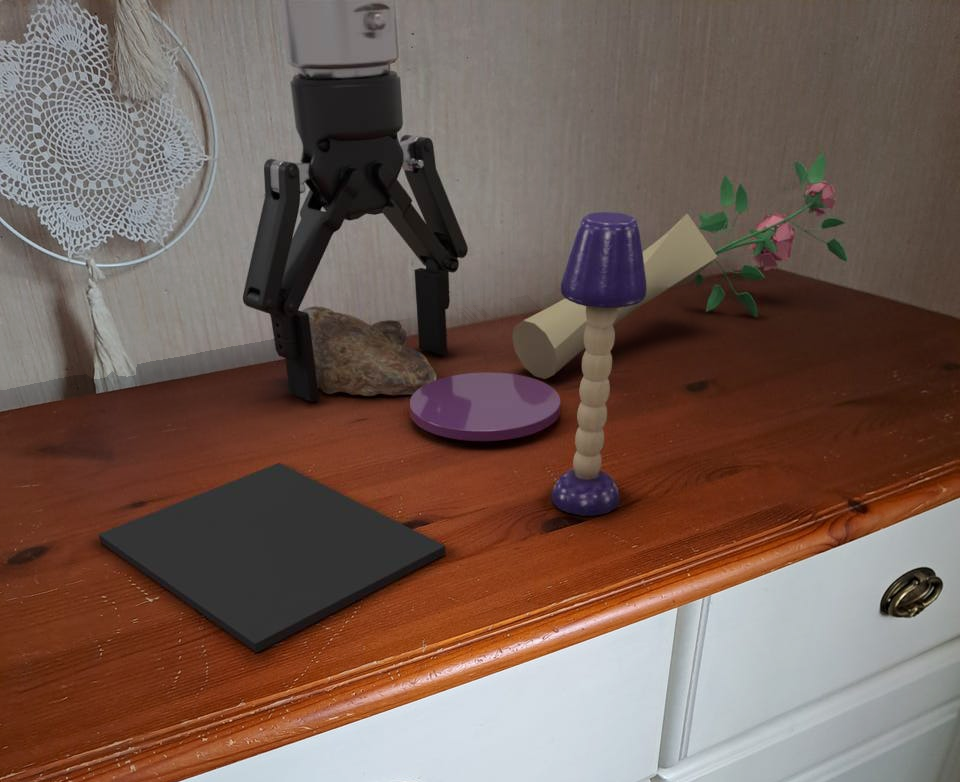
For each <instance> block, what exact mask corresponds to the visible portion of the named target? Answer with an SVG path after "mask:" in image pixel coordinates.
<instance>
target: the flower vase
mask: <svg viewBox="0 0 960 782" xmlns="http://www.w3.org/2000/svg"><path fill="white" fill-rule="evenodd" d="M793 163H794V167H795V172H796V175H797V178H798V180H799V183H800V187H801V189H802V192H803V195H802V196H803V197H804V200H803V204H802V208H801V209H799V210H798V211H796V212H795V213H793V214H791V215H789V216H787V215H786V214H779V213H777V212H776V211H773V215H772V216H771V217H770V215H769V214H768V213H766V214H765V215H764V216H763V219H762V220H761V221H760V222H757V223H755V224H756V229H749V232H750V234H748V235H746V236H743V237H741V238H739V239H737V240H735V241H732V242H731V240H732V231H733V228H734V225H735V222H736V220H737V219H738V217H739V216H740V215H741V214H742V213H744V212H746V211H747V210H748V209H749V201H748V195H747V191H746V189H745V187H744V186H743V185H742V183H741V182H740V183H739V185H738V188H737V190H736V193H735V191H734V187H733V183H732V182H731V181H730V179H729V178H728V176H727V175H726V174H723V179H722V181H721V184H720V194H719V195H720V197H719V198H720V206H722V207H725V211H720V212H716V213H715V214H713V215H712V214H710V213H697V216H698V218H699V220H700V222H701V225H700V226H699V227H698V226H697V224H696V223H695V222H694V221H693V219H692V218H691V216H690V215H689V213H686V214H685V215H683V216H682V218H680V220H679V221H677V222H676V224H675V225H673V226H672V228H671V229H669V230H668V231H667V232H666V233H665V234H664V235H662V236H661V237H660V238H658V239H657V240H656V241H655V242H653V243H652V244H651V245H649V247H647V248H646V249H645V250H642V252H643V261H644V269H645V276H646V296H645V297H644V299H643V300H642V301H641V302H639V303H638V304H635V305H630V306H626V307H621V308H618V310H617V317H616V320H615V322H614V323H613V327H614V326H615V325H617V324H618V323H620V321H622V320H623V319H624V318H626V317H627V316H628V315H629V314H631V313H632V312H633V311H635V310H637V308H639V307H641V306H642V305H644V304H646V303H648V302H650V301H651V300H653V299H654V298H656V297H658V296H659V295H661V294H663V293H665V292H666V291H668V290H672V289H675V288H678V287H681V286H686V285H688V284H690V283H691V282H692V281H693V283H694V285H695V287H696V288H698V287H699V286H700V285H701V284H703V283H704V276H703V274H701V273H702V272H703V271H704V270H705V269H706V268H707V267H709V266H710V265H711V264H712V263H713V262H715V263H716V264H717V265H718V266H719V268H720V269H721V270H722V272H723V274H724V277H723V278H722V280H721V282H720V284H719V285H718V284H714V285H713V288H712V290H711V293H710V295H709V297H708V298H707V304H706V309H705V312H706V313H707V312H709V311H712V310H713V309H716V308H717V307H719V305H720V304H721V302H722V301H724V299H725V296H726V293H725V291H724V290H723V288H722V283H723V282H724V280H725V279H726V280H727V281H728V283H729V285H730V287H731V289H732V290H733V292H734V293H735V294H736V296H737V300H738V301H739V302H740V303H741V304H742V305H743V306H744V308H745V309H746V310H747V311H748V312H749V313H750V314H752V315H753V317H755V318H758V310H757V303H756V302H755V300H754V298H753V297H752V295H751V294H750V293H748V292H747V291H746V292H741V293H740V292H739V293H737V292H736V290H735V288H734V287H733V285H732V283H731V282H730V279H729V278H728V277H729V276H728V275H727V274H726V271H725V270H724V269H723V267H722V266H721V265H720V263H719V262H718V261H717V260H716V259H717V258H718V255H720V254H722V253H724V252H727V251H730V250H733V249H736V248H741V247H743V246H748V245H749V247H748V248H749V249H750V250H753V253H752V254H751V255H750V258H751V259H752V260H753V261H755V262H756V264H757V267H756V266H754V265H752V264H744V265H743V266H742V268H741V270H740V272H738V271H731V270H727V272H730V273H733V274H740V275H741V277H742V278H743V279H744V280H746V281H757V282H758V281H760V280H763V279H764V278H765V274H763V273H762V272H761V271H760V270H759V268H760V267H762V266H763V271H765V272H766V271H769V270H772V269H774V270H778V268H779V265H778V262H781V261H784V262H786V261H787V259H788V258H790V257H791V254H792V249H793V244H794V240H795V237H796V235H795V234H794V232H795V228H794V226H796V227H797V228H799V229H800V230H802V231H803V232H805V233H806V234H808V235H810V236H811V237H813V238H814V239H817V240H818V241H820V242H822V243H825V244H826V246H827V249H828V252H831V253H832V254H833V255H835V256H836V257H837V258H838V259H839V260H842V261H844V262H849V260H848V257H847V252H846V249H845V247H844V246H843V244H841V242H840V241H839V240H838V239H836V238H835V237H833V238H831V239H830V240H829V241H828V242H826V241H824V240H822V239H820V238H819V237H817V236H815V235H814V234H812V233H810V232H815V231H819V230H820V229H821V228H822V230H824V229H829V228H835V227H838V226H841V225H844V224H846V221H844V220H842V219H840V218H837V217H827V218H824V219H823V221H822V223H821V224H820V227H818V228H816V229H804V228H803V227H801V226H799V225H798V224H796V223H794V222H793V221H791V219H793V218H795V217H796V216H798V215H799V214H801V213H803V212H804V211H805V210H807V209H809V210H808V214H810V213H811V214H814V213H816V214H815V216H816V217H820V216H822V215H826V209H831V210H833V209H834V207H835V204H836V201H837V200H836V198H834V197H832V196H833V195H835V194H836V191H835V188H834V186H833V185H832V183H830V184H829V185H827V184H828V182H827V181H826V180H824V177H825V174H826V169H827V162H826V156H825V152H822V154H820V155H819V156H818V157H817V158H816V160H814V161H813V163H812V165H811V166H810V168H809V171H808V170H807V168H806V166H805V165H804V164H803V163H801V162H799V161H796V160H794V161H793ZM823 180H824V181H823ZM805 181H807V182H808V183H810V185H806V186H805V187H806V189H807V190H806V191H805V189H804V183H805ZM734 203H735V205H734V210H735V211H736V212H737V213H738V215H737V216H736V217H735V218H734V221H733V223H732V227H731V226H730V222H729V218H728V214H727V213H728V212H727V209H728V208H729V207H730V206H731V205H733V204H734ZM791 224H792V225H794V226H792V225H791ZM726 229H729V231H728V230H726ZM701 230H702V231H706V232H710V233H711V234H716V233H717V232H719V231H720V232H719V233H718V236H717V239H716V243H715V244H716V245H715V250H713V248H712V247H711V245H710V243H709V242H708V241H707V240H706V238H705V236H704V235H703V234H702V232H701ZM723 231H724V232H725V233H727V234H728V235H729V242H728V244H726V245H724V246H721V247H720V248H718V245H719V238H720V236H721V233H722V232H723ZM750 238H751V239H750ZM747 239H749V240H747ZM587 325H588V321H587V319H586V306H583V305H579V304H576V303H574V302H571V301H569V300H568V299H566V298H565V297H564V298H563V299H561V300H560V301H558V302H555V303H554V304H552V305H551V306H548V307H547V308H545V309H542V310H541V311H539V312H537V313H535V314H533V315H531V316H529V317H527V318H525V319H523V320H522V321H520V322H518V323H517V324H515V325H514V328H513V332H512V337H511V339H512V344H513V348H514V353H515V354H516V356H517V358H518V359H519V361H520V363H521V364H522V366H523V368H525V369H526V370H527V371H528V372H529V373H530V374H532V376H534V377H536V378H539V379H543V380H547V379H548V378H550V377H553V376H555V375H556V374H557V373H558V372H559V371H560V370H561V369H563V367H565V366H566V365H567V364H568V363H569V362H570V361H571V360H573V359H574V358H575V357H576V356H577V355H578V354H580V353H581V352H583V351H584V350H585V349H586V348H585V345H584V332H585V329H586V326H587Z"/></svg>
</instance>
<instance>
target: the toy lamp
mask: <svg viewBox="0 0 960 782" xmlns="http://www.w3.org/2000/svg"><path fill="white" fill-rule="evenodd" d="M641 239H642V238H641V232H640V226H639V223H638V221H637V219H636V218H634V217H633V216H632V215H629V214H626V213H622V212H616V211H615V212H613V211H599V212H598V211H597V212H591V213H588V214H585V216H584V217H583V218H582V219H581V221H580V223H579V226H578V228H577V231H576V234H575V238H574V241H573V244H572V247H571V249H570V253H569V255H568V260H567V262H566V265H565V269H564V272H563V275H562V279H561V282H560V293H561V295H562V296H563V297H564V299H565V298H566V299H568V300H569V301H571V302H574V303H576V304H579V305H583V306H586V319H587V321H588V325H587V326H586V329H585V332H584V345H585V348H584V349H585V351H584V353H583V355H582V358H581V372H582V374H583V377H582V379H581V381H580V384H579V390H578V391H579V392H578V393H579V394H578V395H579V399H580V403H579V405H578V408H577V412H576V419H577V425H578V428H577V429H576V433H575V437H574V444H575V448H576V451H575V453H574V455H573V460H572V466H573V469H570V470H568V471H566V472H565V473H563V474H562V475H560V477H559V478H558V479H557V480H556V482H555V483H554V486H553V488H552V490H551V495H550V500H551V502H552V504H554V506H556V508H558V510H560V511H563V512H565V513H568V514H570V515H574V516H575V515H576V516H582V517H586V516H588V517H591V516H593V517H595V516H600V515H604V514H607V513H610V512H611V511H613V510H615V509H616V508H617V507H618V506H619V504H620V493H619V489H618V486H617V484H616V482H615V480H614V479H613V478H612V477H611V476H610V474H608V473H607V472H605V471H603V470H601V468H602V462H603V461H602V453H601V451H602V449H603V447H604V443H605V431H604V426H605V425H606V422H607V418H608V407H607V404H606V403H607V401H608V400H609V398H610V397H609V396H610V392H611V386H610V385H611V384H610V379H609V376H610V374H611V372H612V367H613V356H612V352H611V351H612V350H613V347H614V345H615V340H616V339H615V338H616V332H615V328H614V326H613V323H614V322H615V320H616V317H617V310H618V308H621V307H626V306H630V305H635V304H638V303H639V302H641V301H642V300H643V299H644V297H645V296H646V276H645V269H644V261H643V246H642V240H641Z"/></svg>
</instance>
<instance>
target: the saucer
mask: <svg viewBox="0 0 960 782" xmlns="http://www.w3.org/2000/svg"><path fill="white" fill-rule="evenodd" d="M561 407H562V400H561V396H560V394H559V393H558V391H557V390H556V389H555V388H553V387H552V386H551V385H550V384H548V383H546V382H543V381H541V380H539V379H536V378H532V377H529V376H525V375H522V374H521V375H519V374H514V373H507V372H506V373H505V372H472V373H471V372H470V373H461V374H455V375H451V376H445V377H441V378H438V379H436V381H433V382H431V383H428V384H426V385H424V386H423V387H421V388H419V389H418V390H417V391H416V392H415V393H414V394H413V395H412V394H411V397H410V399H409V415H410V418H411V420H412V421H413V423H414V424H416V425H417V426H418V427H419V428H421V429H422V430H424V431H427V432H428V433H429V434H433V435H436V436H439V437H443V438H446V439H453V440H458V441H467V442H469V441H470V442H498V441H506V440H507V441H508V440H512V439H518V438H523V437H527V436H531V435H533V434H536V433H538V432H541V431H543V430H546V429H547V428H548V427H550V426H551V425H553V424H554V423H555V422H556V421H557V420H558V418H559V417H560V414H561Z"/></svg>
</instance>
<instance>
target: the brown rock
mask: <svg viewBox="0 0 960 782" xmlns="http://www.w3.org/2000/svg"><path fill="white" fill-rule="evenodd" d="M301 311H302V312H305V313H308V314H309V322H310V330H311V338H312V346H313V354H314V362H315V370H316V378H317V386H318V390H321V391H322V393H324V394H326V395H327V394H328V395H333V394H336V393H346V394H349V395H353V396H354V395H356V396H357V395H361V396H365V397H370V396H371V397H373V396H376V395H379V394H382V395H389V396H394V397H395V396H402V395H411V396H412V395H413V394H414V393H415V392H416V391H417V390H418V389H419V388H421V387H423V386H424V385H426V384H428V383H431V382H433V381H436V380H437V373H436V371H435V370H434V368H433V366H432V365H431V364H430V362H429V360H428V359H427V357H426V356H425V355H424V354H423V353H422V352H420V351H418V350H416V349H413V348H411V347H406V345H407V341H408V336H407V335H408V334H407V332H406V330H405V329H404V328H403V326H402V324H401V323H400V321H399V320H392V319H388V320H380V321H378V322H375V323H373V324H369V323H367V322H365V321H364V320H363V319H360V318H358V317H356V316H354V315H351V314H350V313H341V312H337V311H334V310H332V309H330V308H328V307H324V306H315V305H314V306H309V307H306V308H304V309H302V310H301Z"/></svg>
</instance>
